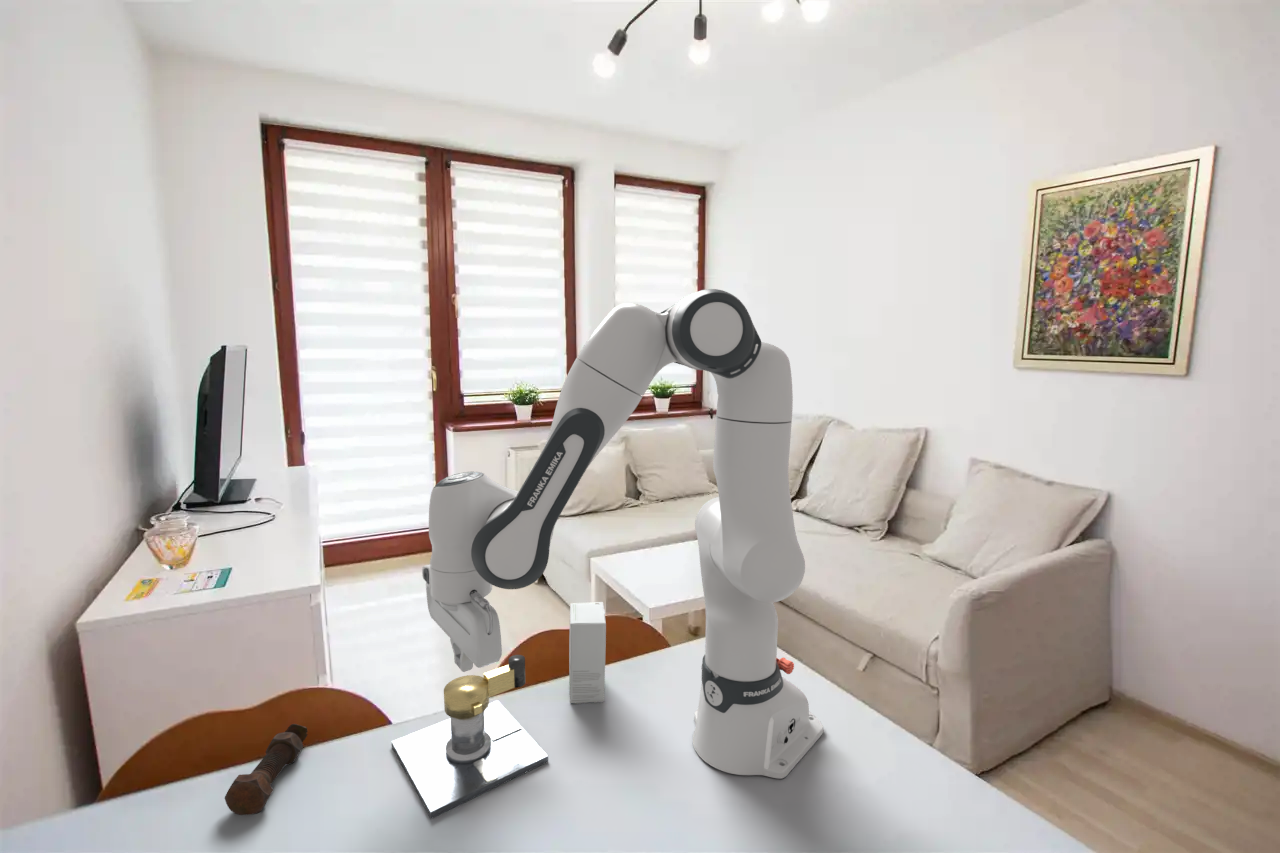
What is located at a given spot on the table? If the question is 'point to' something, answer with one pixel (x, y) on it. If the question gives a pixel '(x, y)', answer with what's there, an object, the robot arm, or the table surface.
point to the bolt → (265, 772)
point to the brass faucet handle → (482, 688)
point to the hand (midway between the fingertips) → (463, 666)
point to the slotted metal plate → (466, 757)
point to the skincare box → (587, 652)
